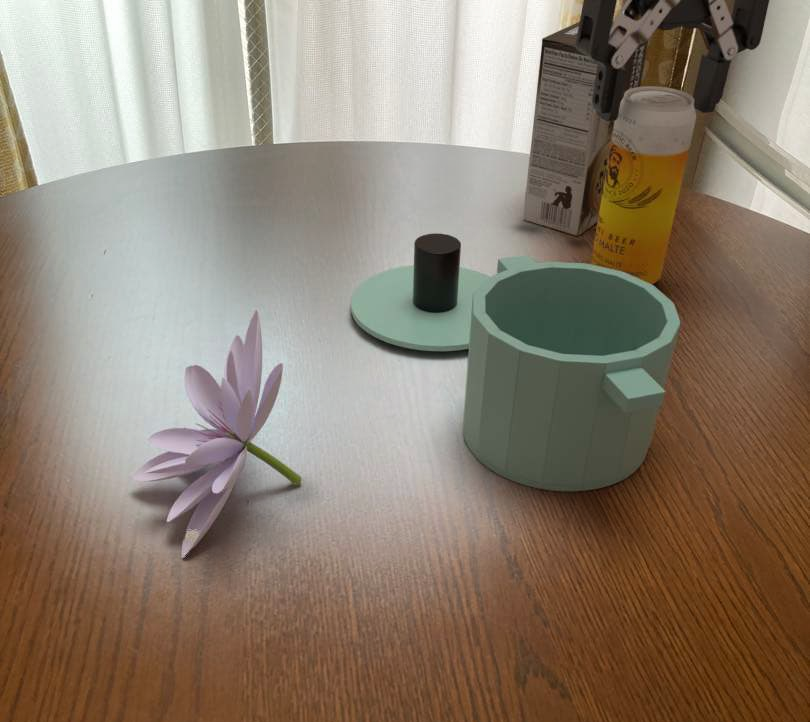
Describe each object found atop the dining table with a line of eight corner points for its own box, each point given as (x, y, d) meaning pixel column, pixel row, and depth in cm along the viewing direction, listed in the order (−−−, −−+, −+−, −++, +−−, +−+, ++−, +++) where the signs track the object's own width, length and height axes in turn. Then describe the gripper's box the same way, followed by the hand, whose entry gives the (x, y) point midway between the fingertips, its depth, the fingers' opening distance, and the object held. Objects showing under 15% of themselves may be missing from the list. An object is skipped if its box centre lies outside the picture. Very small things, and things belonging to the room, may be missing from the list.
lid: (479, 267, 82) (484, 199, 77) (546, 342, 72) (556, 270, 68) (331, 288, 78) (328, 218, 74) (381, 370, 69) (381, 295, 65)
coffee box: (564, 191, 95) (588, 15, 84) (621, 207, 92) (654, 27, 81) (519, 220, 89) (539, 35, 78) (578, 237, 87) (607, 49, 76)
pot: (576, 353, 71) (596, 235, 65) (706, 495, 59) (747, 366, 52) (423, 380, 68) (428, 258, 61) (526, 536, 55) (546, 403, 49)
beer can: (575, 270, 82) (603, 89, 71) (633, 259, 83) (668, 81, 73) (613, 300, 77) (648, 113, 67) (672, 288, 79) (716, 104, 69)
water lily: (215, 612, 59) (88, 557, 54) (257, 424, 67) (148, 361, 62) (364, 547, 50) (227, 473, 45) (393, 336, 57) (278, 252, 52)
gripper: (641, -138, 56) (596, 138, 67) (834, -140, 60) (761, 122, 70) (583, -153, 61) (550, 106, 72) (764, -154, 65) (706, 92, 76)
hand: (655, 113), depth 71 cm, fingers open, 8 cm apart
